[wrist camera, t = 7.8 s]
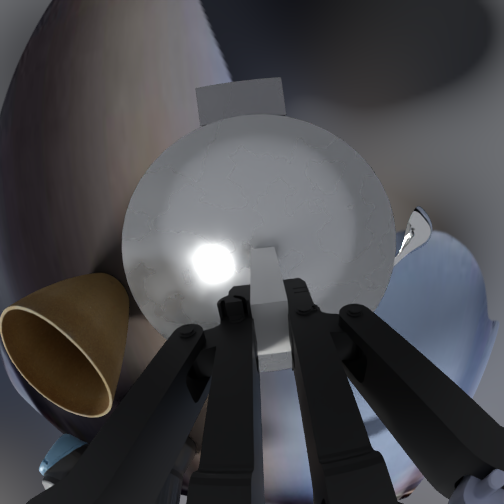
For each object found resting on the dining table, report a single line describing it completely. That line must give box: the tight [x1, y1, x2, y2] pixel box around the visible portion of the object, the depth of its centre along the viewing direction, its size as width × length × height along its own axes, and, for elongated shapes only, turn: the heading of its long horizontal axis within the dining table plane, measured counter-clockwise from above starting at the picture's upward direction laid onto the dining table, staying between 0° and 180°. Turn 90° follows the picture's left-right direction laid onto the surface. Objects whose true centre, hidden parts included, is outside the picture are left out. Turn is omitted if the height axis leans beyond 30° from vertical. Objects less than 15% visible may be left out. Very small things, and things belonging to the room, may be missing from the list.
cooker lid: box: [122, 78, 396, 372], centre depth 18 cm, size 19×21×2 cm
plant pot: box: [0, 273, 129, 417], centre depth 26 cm, size 15×15×16 cm
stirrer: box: [394, 206, 432, 266], centre depth 32 cm, size 20×4×5 cm
